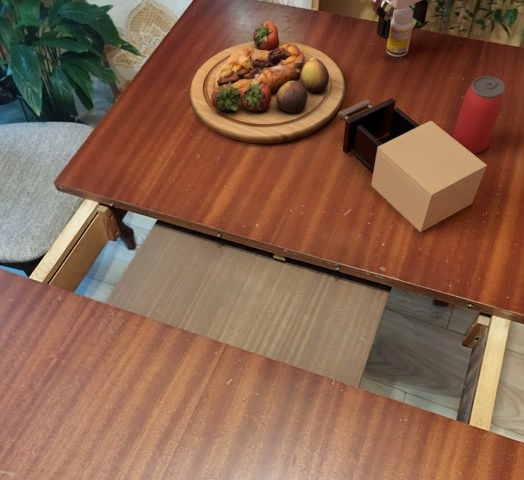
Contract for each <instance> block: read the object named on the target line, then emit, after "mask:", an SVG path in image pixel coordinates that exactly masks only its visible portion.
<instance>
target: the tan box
mask: <svg viewBox="0 0 524 480" xmlns="http://www.w3.org/2000/svg"><path fill="white" fill-rule="evenodd" d="M486 169H487V164H486V163H485V162H484V161H483V160H481V159H480V158H479V157H477V156H476V155H475V154H472V153H471V152H470V151H469V150H467V149H466V148H465V147H464V146H462V145H461V144H460V143H459V142H457V141H456V140H455V139H453V138H452V136H451V135H450V134H449V133H447V132H446V131H445V130H443V128H441V127H439V126H438V125H437V124H436V123H435V122H434V121H433V120H429V121H427V122H425V123H423V124H421V125H420V126H419V127H417V128H415V129H413V130H411V131H409V132H407V133H405V134H403V135H401V136H399V137H397V138H395V139H393V140H391V141H389V142H387V143H385V144H383V145H380V146H378V148H377V154H376V160H375V166H374V172H373V173H372V178H371V179H372V180H371V184H370V186H371V187H372V188H373V189H374V190H375V191H376V192H378V194H379V195H380V196H381V197H382V198H383V199H385V200H386V201H387V202H388V203H389V204H390V206H392V207H393V208H394V209H395V210H396V211H397V212H398V213H399V214H400V215H402V216H403V217H404V218H405V219H406V221H408V222H409V223H410V224H411V225H412V226H413V227H414V228H415V229H416V230H418V232H420V233H422V232H424V231H426V230H427V229H430V228H431V227H433V226H435V225H436V224H439V223H441V222H442V221H443V220H446V219H447V218H449V217H450V216H452V215H455V214H456V213H458V212H460V211H462V210H463V209H465V208H467V207H468V206H470V205H472V204H473V202H474V199H475V197H476V194H477V191H478V190H479V186H480V184H481V181H482V179H483V176H484V174H485V171H486Z"/></svg>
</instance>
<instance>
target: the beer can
mask: <svg viewBox="0 0 524 480" xmlns="http://www.w3.org/2000/svg"><path fill="white" fill-rule="evenodd" d="M505 91H506V85H505V83H504V82H503V81H502V80H501V79H499V78H497V77H495V76H490V75H484V76H479V77H476V78H475V79H474V80H472V82H471V84H470V86H469V87H468V88H467V90H466V92H465V94H464V97H463V100H462V104H461V107H460V110H459V113H458V117H457V120H456V123H455V127H454V130H453V133H452V136H451V137H452V138H453V139H455V140H456V141H457V142H459V143H460V144H461V145H462V146H464V147H465V148H466V149H467V150H469V151H470V152H471V153H472V154H474V155H475V154H479V153H481V152H483V151H484V150H485V149H486V148H487V147H488V144H489V142H490V139H491V137H492V134H493V132H494V130H495V129H494V128H495V126H496V124H497V121H498V118H499V115H500V113H501V111H502V107H503V106H504V103H505Z"/></svg>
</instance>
